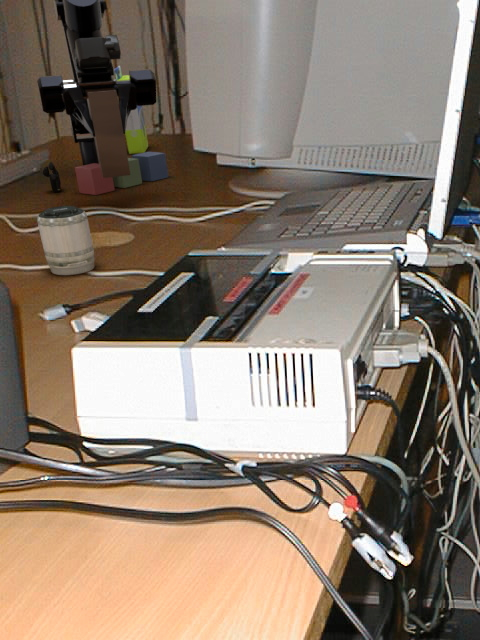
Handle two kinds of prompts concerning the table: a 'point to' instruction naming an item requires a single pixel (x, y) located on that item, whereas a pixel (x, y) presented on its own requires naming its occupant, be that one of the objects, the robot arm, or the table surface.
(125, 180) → the cube
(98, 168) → the cube
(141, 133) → the box
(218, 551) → the table surface
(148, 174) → the cube
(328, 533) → the table surface
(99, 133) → the tall block
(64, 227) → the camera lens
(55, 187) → the wireless earbuds
